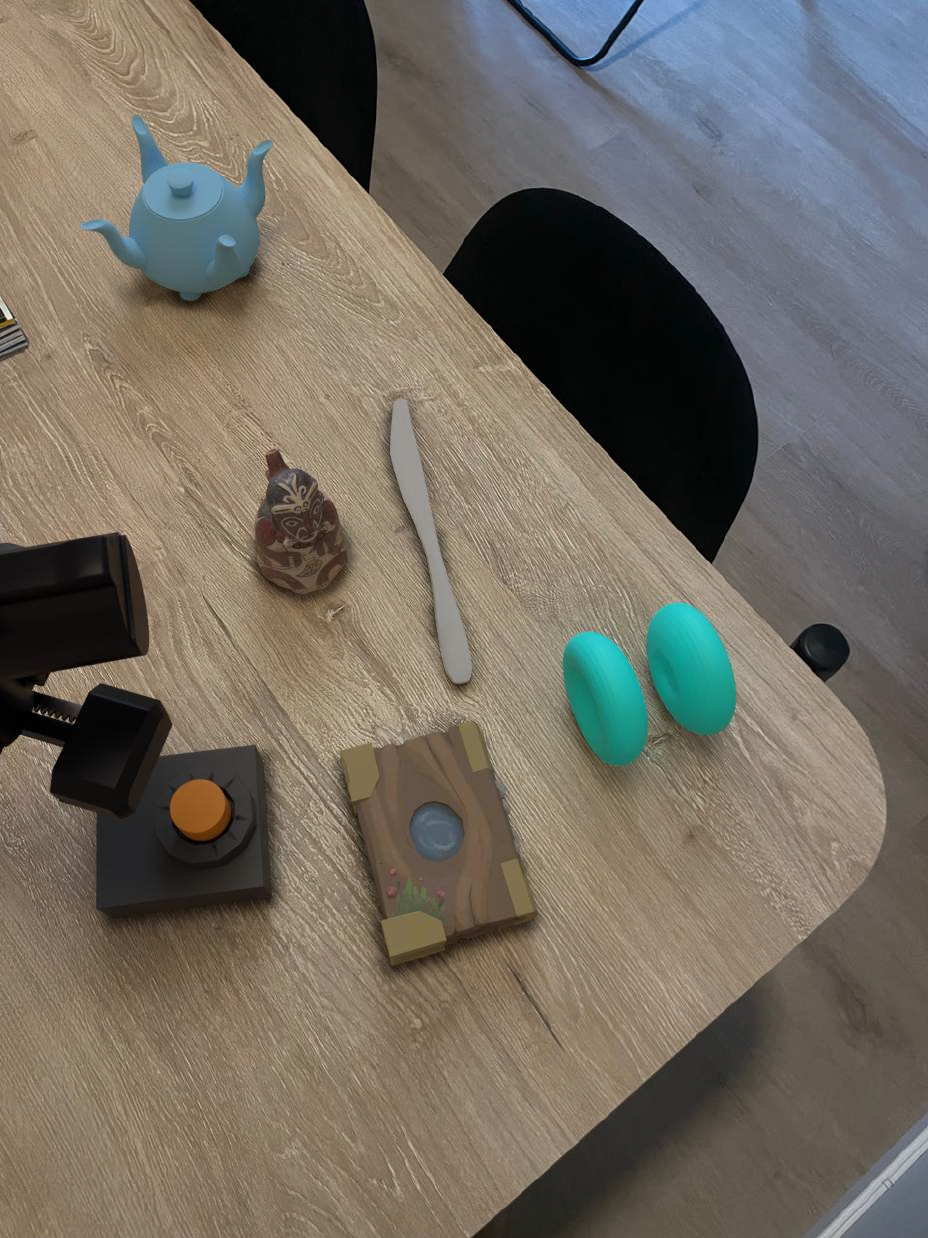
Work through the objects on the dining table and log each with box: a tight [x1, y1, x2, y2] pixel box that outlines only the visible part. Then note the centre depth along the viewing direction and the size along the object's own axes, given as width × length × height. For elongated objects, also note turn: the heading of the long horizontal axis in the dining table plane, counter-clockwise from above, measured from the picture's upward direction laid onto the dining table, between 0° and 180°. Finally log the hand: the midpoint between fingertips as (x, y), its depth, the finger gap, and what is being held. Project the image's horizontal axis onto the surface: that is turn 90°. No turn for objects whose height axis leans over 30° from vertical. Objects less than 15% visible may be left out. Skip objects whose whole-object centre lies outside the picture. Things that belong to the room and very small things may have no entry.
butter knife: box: [389, 397, 473, 685], centre depth 88 cm, size 1×27×3 cm
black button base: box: [95, 744, 273, 920], centre depth 74 cm, size 11×10×6 cm
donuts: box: [562, 602, 737, 767], centre depth 78 cm, size 10×10×10 cm
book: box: [339, 720, 539, 967], centre depth 75 cm, size 15×11×5 cm
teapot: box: [80, 114, 274, 302], centre depth 95 cm, size 13×13×10 cm
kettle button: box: [170, 779, 231, 841], centre depth 71 cm, size 4×4×2 cm
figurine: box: [253, 447, 348, 595], centre depth 82 cm, size 7×7×12 cm
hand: (34, 760), depth 64 cm, fingers open, 9 cm apart
